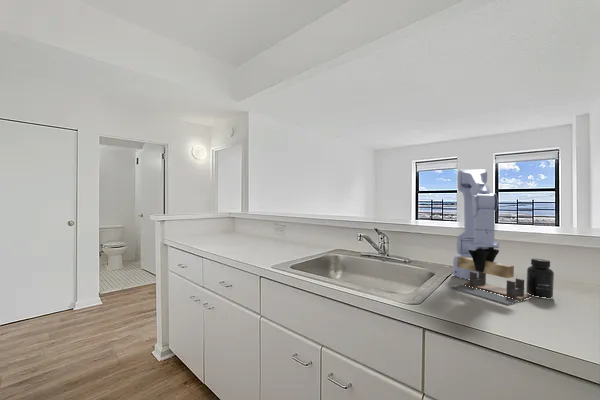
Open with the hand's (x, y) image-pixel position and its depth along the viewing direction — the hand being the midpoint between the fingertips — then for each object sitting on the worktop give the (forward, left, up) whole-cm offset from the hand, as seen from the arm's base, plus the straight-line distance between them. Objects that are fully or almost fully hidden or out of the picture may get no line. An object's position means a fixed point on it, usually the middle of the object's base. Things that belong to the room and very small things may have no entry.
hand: (483, 270), depth 94 cm
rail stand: (0, +8, -8) cm, 11 cm away
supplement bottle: (+9, +17, -8) cm, 20 cm away
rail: (0, 0, 0) cm, 0 cm away
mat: (0, 0, -8) cm, 8 cm away
